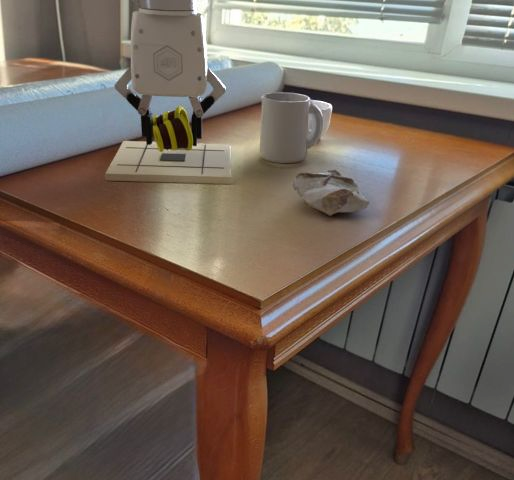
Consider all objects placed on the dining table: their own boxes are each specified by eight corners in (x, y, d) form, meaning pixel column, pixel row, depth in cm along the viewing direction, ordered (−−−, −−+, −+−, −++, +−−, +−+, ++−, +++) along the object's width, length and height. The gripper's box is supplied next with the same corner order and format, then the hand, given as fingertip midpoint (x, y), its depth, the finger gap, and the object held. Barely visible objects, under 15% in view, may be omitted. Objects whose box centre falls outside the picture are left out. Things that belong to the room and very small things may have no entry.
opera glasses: (157, 142, 93) (149, 108, 90) (191, 135, 93) (184, 101, 90) (159, 160, 85) (150, 124, 82) (196, 153, 85) (188, 116, 82)
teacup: (286, 130, 111) (289, 98, 108) (329, 132, 110) (332, 101, 107) (283, 144, 102) (285, 110, 99) (329, 147, 102) (332, 113, 99)
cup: (253, 151, 98) (255, 92, 93) (311, 149, 100) (316, 91, 95) (268, 164, 92) (271, 102, 87) (328, 161, 95) (335, 101, 90)
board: (105, 180, 82) (105, 172, 82) (123, 147, 97) (123, 140, 96) (231, 184, 83) (231, 176, 83) (230, 150, 98) (230, 143, 97)
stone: (284, 188, 83) (285, 164, 81) (348, 187, 84) (351, 163, 83) (305, 221, 73) (308, 194, 71) (377, 218, 75) (381, 192, 73)
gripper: (94, -1, 75) (108, 148, 85) (234, 5, 76) (231, 152, 86) (105, -5, 81) (116, 134, 91) (233, 1, 82) (231, 138, 92)
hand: (172, 141), depth 88 cm, fingers closed on opera glasses, 5 cm apart
